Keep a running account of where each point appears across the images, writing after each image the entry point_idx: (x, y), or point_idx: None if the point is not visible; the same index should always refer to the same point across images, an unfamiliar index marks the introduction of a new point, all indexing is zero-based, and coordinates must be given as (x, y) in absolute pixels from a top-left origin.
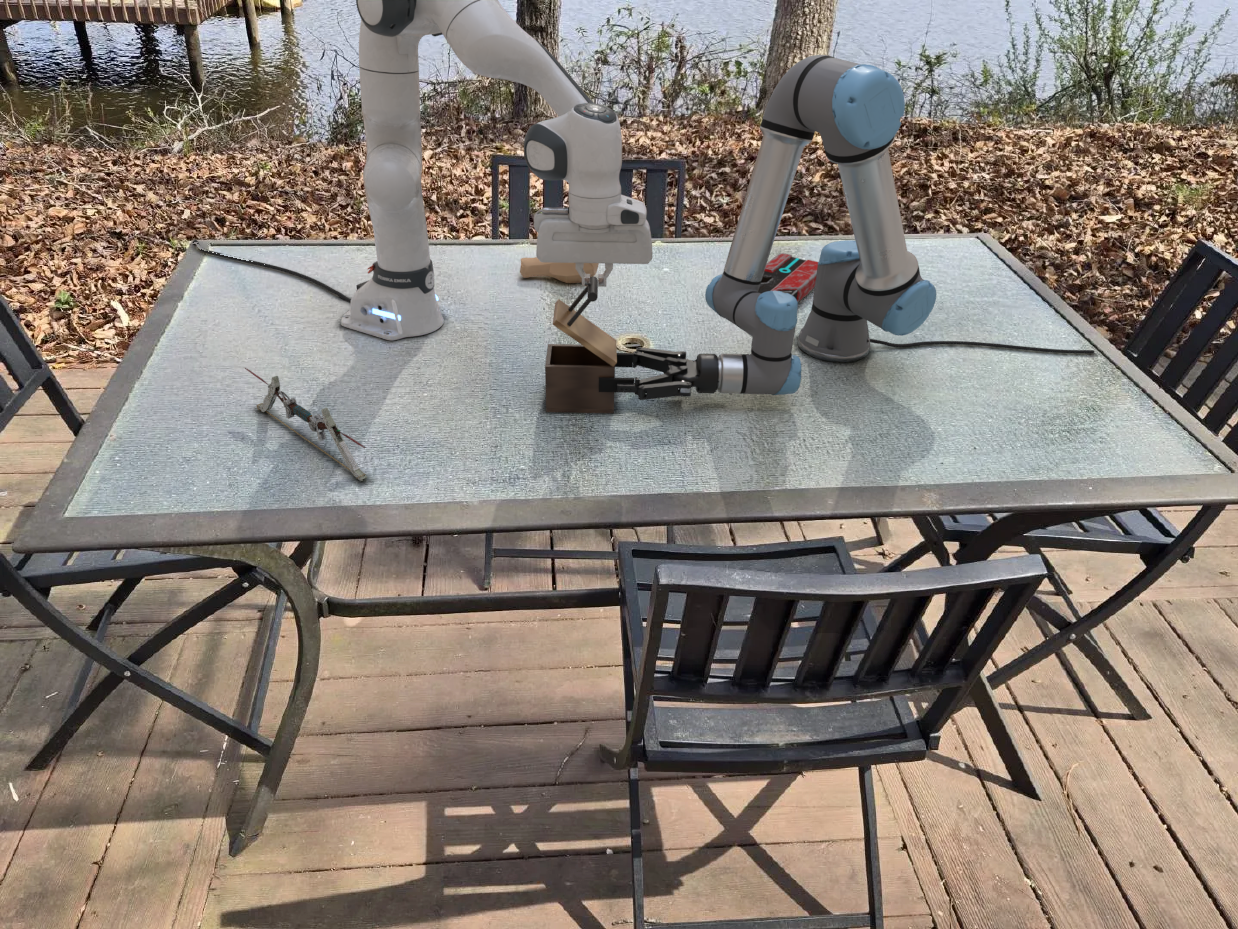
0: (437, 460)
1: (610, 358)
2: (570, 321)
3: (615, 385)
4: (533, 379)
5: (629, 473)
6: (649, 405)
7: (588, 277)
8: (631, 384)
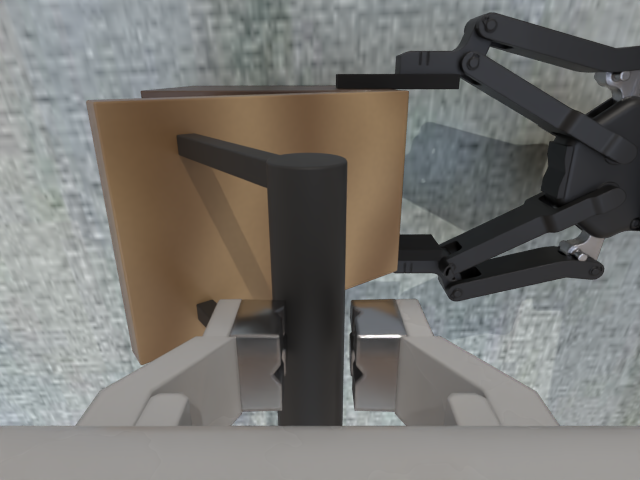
0: (30, 390)
1: (377, 277)
2: None
3: None
4: (138, 30)
5: (388, 415)
6: (462, 171)
7: (268, 405)
8: (428, 265)
